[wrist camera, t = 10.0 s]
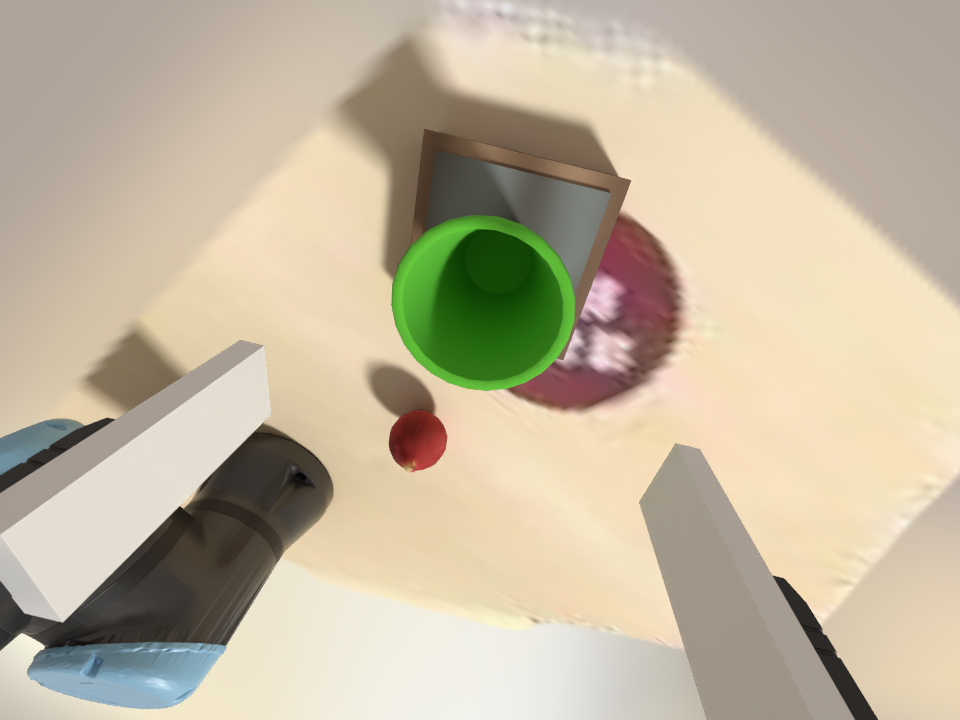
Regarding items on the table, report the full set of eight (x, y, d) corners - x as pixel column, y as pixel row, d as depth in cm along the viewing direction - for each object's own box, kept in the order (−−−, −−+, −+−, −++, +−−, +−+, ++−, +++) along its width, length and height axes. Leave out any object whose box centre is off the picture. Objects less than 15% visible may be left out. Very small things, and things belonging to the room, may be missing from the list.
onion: (410, 439, 43) (386, 494, 36) (394, 398, 41) (366, 449, 34) (458, 435, 42) (443, 490, 35) (445, 392, 39) (426, 443, 33)
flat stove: (415, 303, 35) (401, 321, 31) (437, 132, 28) (423, 128, 24) (560, 339, 35) (563, 361, 31) (619, 177, 28) (632, 180, 24)
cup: (417, 227, 27) (354, 267, 18) (533, 167, 24) (533, 177, 15) (470, 331, 31) (442, 411, 21) (577, 289, 28) (600, 360, 18)
